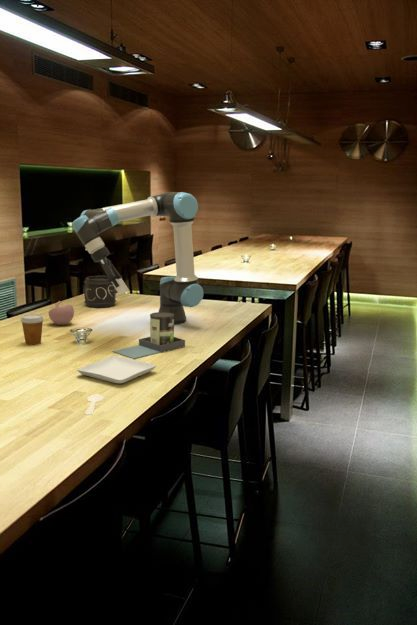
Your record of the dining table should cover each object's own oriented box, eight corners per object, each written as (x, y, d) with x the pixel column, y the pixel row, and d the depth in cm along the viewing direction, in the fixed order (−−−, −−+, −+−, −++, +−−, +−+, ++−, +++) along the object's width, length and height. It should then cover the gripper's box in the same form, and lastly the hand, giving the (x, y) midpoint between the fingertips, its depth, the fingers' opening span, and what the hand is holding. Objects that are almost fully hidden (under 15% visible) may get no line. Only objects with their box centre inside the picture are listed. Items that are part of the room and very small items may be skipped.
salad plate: (120, 388, 206) (120, 379, 206) (75, 377, 217) (75, 368, 217) (157, 373, 224) (158, 364, 223) (114, 363, 235) (114, 354, 234)
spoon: (79, 415, 182) (79, 414, 182) (89, 395, 200) (89, 393, 199) (97, 416, 182) (97, 414, 182) (105, 395, 200) (105, 393, 200)
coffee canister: (114, 308, 332) (113, 280, 329) (81, 308, 332) (81, 280, 329) (119, 302, 350) (119, 275, 346) (88, 301, 350) (88, 275, 347)
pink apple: (66, 320, 302) (65, 298, 300) (79, 325, 294) (78, 302, 292) (44, 324, 294) (43, 301, 292) (57, 328, 286) (56, 305, 283)
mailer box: (163, 340, 269) (163, 333, 268) (184, 346, 259) (185, 339, 259) (112, 351, 249) (112, 344, 249) (133, 359, 240) (133, 351, 239)
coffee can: (176, 344, 263) (176, 312, 260) (170, 350, 253) (170, 317, 250) (153, 342, 265) (153, 311, 262) (146, 348, 255) (146, 316, 252)
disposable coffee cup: (49, 342, 262) (48, 315, 260) (36, 347, 253) (34, 319, 251) (30, 339, 265) (29, 313, 263) (17, 345, 256) (15, 317, 254)
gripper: (95, 255, 268) (121, 295, 269) (84, 254, 243) (113, 299, 244) (109, 246, 268) (135, 287, 269) (100, 244, 243) (128, 289, 244)
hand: (124, 292), depth 257 cm, fingers open, 13 cm apart
